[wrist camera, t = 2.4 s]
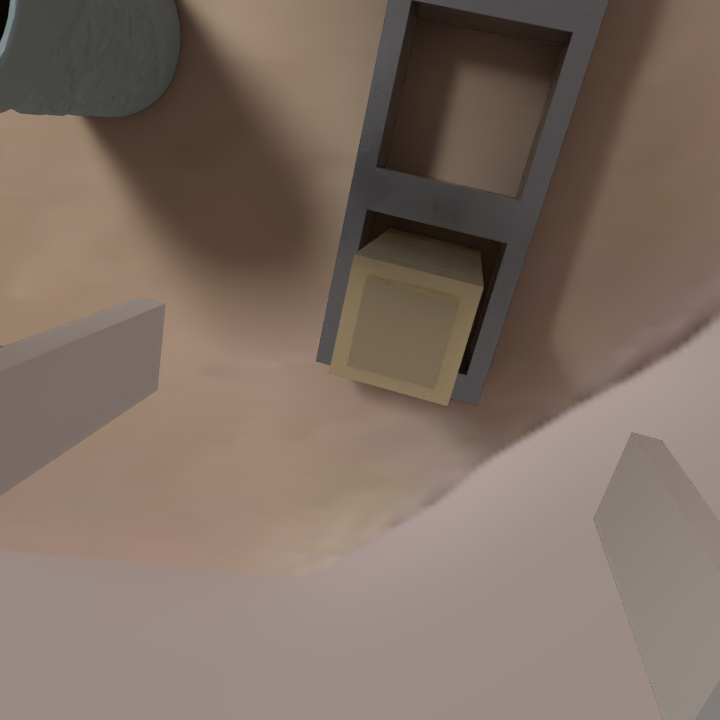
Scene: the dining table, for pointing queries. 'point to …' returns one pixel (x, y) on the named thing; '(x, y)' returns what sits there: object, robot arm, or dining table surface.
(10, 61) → the grey-green cup
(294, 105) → the dining table surface
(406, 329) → the beige recessed-panel block
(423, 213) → the grey compartment tray
